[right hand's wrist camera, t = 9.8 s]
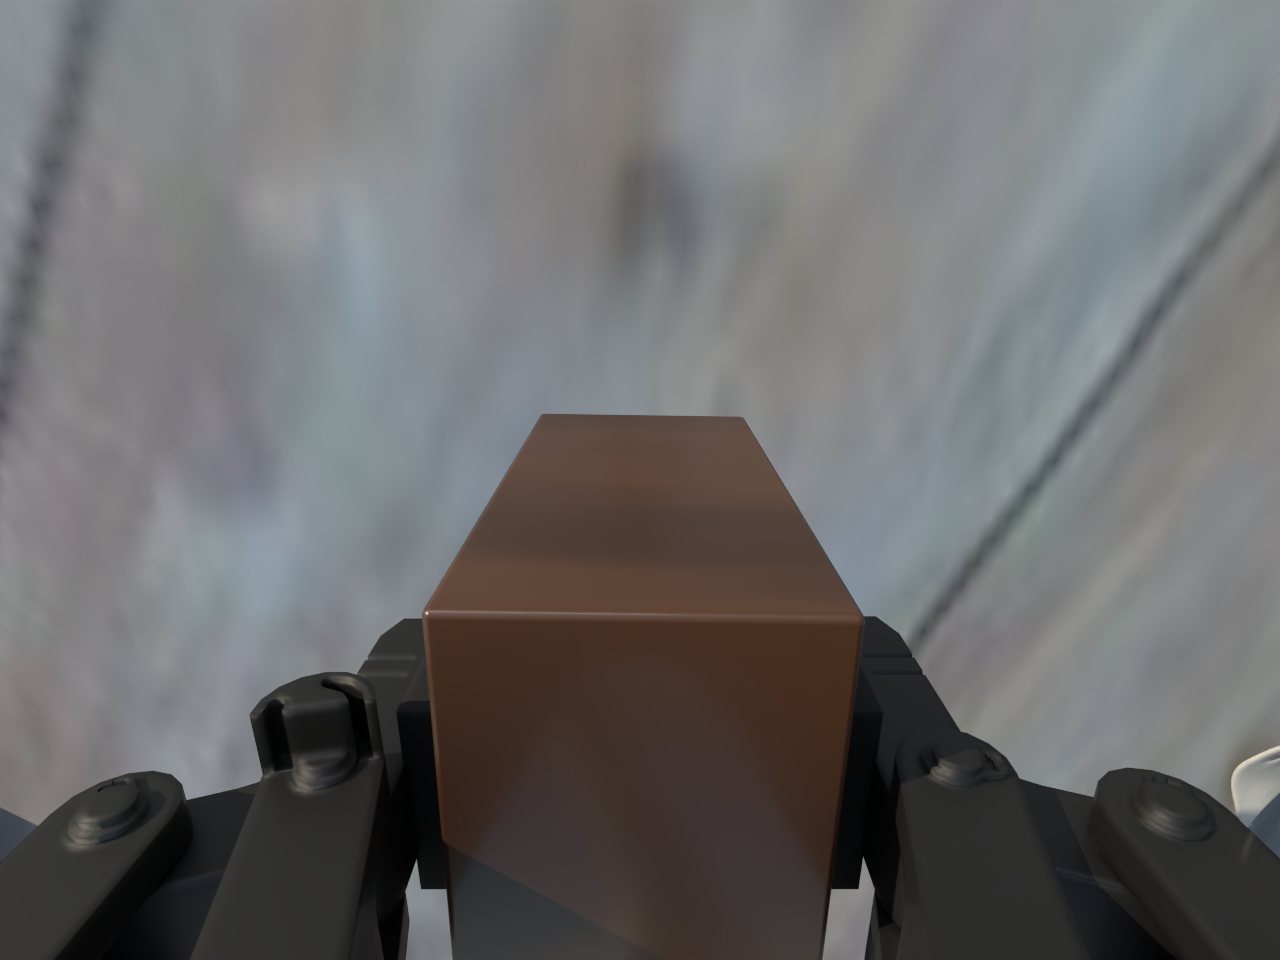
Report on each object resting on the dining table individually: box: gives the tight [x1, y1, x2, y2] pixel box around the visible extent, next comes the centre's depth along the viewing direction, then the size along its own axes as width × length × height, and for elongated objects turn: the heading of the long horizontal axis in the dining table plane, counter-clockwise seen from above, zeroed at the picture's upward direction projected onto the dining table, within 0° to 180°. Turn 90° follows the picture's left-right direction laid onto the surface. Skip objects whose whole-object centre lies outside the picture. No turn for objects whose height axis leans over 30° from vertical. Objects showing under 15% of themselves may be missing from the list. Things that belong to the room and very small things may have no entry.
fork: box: [1231, 745, 1280, 828], centre depth 30 cm, size 3×16×2 cm, turn 167°
